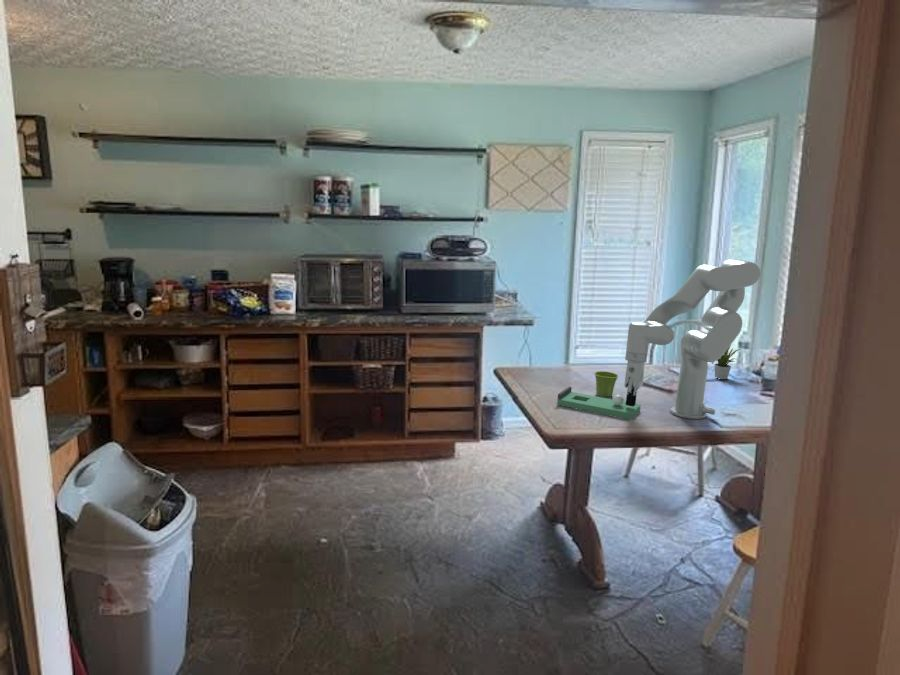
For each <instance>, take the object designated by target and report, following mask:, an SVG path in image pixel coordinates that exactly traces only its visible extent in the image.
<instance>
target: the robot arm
mask: <svg viewBox="0 0 900 675" xmlns="http://www.w3.org/2000/svg"><path fill="white" fill-rule="evenodd" d="M760 278H761V269H760V266H759V265H757V263H756V262H752V261H747V260H742V259H737V258H735V259H734V258H729V259H727V260H725V261H723V262H722V264H721V265H720V266H718V265H717V266H716V265H713V264H712V265H711V264H701V265H699V266H698V267H696V268H695V269H694V271H693V272H692V273H691V274H690V275H689V277H688V278H687V279H686V281H685V282H684V283H683V284H682V285H681V287H679V289H678V290H677V292H675V294H674V295H672V296H671V297H669V298H668V299H666V300H665V301H664V302H662V303H660V304H659V305H658V306H657V307H656V308H654V309H653V310H652V312H651V313H650V314H649V315H648V316H647V318H646V319H645V320H644V322H642V321H641V322H640V321H634V322H630V323H629V325H628V331H627V340H626V349H625V357H624V359H625V361H627V364H626V369H625V377H624V387H625V388H626V392H627V393H626V399H625V402H626V405H628V406H635V404H637V403H636V402H637V392H638V390H639V389H640V388H641V387H642V386H643V385H644V379H645V378H644V377H645V375H644V374H645V363H647V360H648V352H649V345H650V344H651V345H652V344H653V345H657V346H666V345H668V344H671V343H672V342H673V340H674V339H675V332H674V330H673V328H672V327H670V326H669V324H668V323H669V322H670V321H671V320H672V319H674V318H676V317H677V316H679V315H682V314H685V313H689V312H692V311H694V310H695V309H696V308H697V307H698V305H699V304H700V303H701V302H702V300H703V299H704V298H705V296H706V295H707V294H708V293H709V292H710V291H714V292H719V293H718V294H717V296H716V298H715V299H714V300H713V301H712V303H711V304H710V306H709V307H708V308H707V309H706V311H704V314H703V315H702V316H701V319H700V320H701V326H702V328H704V329H705V330H706V331H708V332H705V331H703V330H699V329H691V330H688V331H687V332H685V333H684V334H683V335H682V337H681V340H680V346H679V348H680V366H679V373H678V374H679V375H678V383H677V390H676V398H675V405H674V406H672V407H670V410H669V412H670V413H671V414H672V415H674V416H676V417H680V418H684V419H691V420H700V419H705V418H706V416H707V414H709V415H716V409H714V408H713V407H707V406H706V405H705V404H706V403H705V402H704V398H705V392H706V385H707V378H708V377H707V376H708V367H709V366H708V365H709V364H708V363H714V362H717V361H718V359H719V358H720V357H721V356H722V355H723V354H724V353H725V352H726V350H727V349H728V348H729V347H730V348H731V346H732V344H733V343H734V341H735V340H736V338H737V337H738V336H739V334H740V332H741V331H742V328H743V319H742V316H741V315H740V314H739V313H738V310H739V309H740V307H741V306H742V305H743V303H744V300H745V296H746V293H745V292H746V291H745V290H746V289H745V288H747V287H751V286H753V285H754V284H756V283H757V282H758V281H759V280H760ZM730 345H731V346H730ZM716 360H717V361H716Z"/></svg>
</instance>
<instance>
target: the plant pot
mask: <svg viewBox="0 0 900 675" xmlns="http://www.w3.org/2000/svg"><path fill="white" fill-rule="evenodd" d="M594 375H595V381H596V382H595V385H596V388H595V389H596V395H598V397H602V398H608V397H610V398H611V397H612V396H613V392H614V389H615V386H616V382H617V380H618V378H619V374H617V373H614V372H610V371H603V370H602V371H595V372H594Z"/></svg>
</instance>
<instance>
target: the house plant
mask: <svg viewBox="0 0 900 675" xmlns="http://www.w3.org/2000/svg"><path fill="white" fill-rule="evenodd" d="M731 346H732V344H731V345H730V347H729V348H728V349H727V350H726V352H725V353H724V354H723V355H722V356H721V357H720V358H719V359H718V360H716V361H715V362H717V363H714V364H713V365H714V366H713V367H714V378H715V377H717V378H720V379H727V380H728V378H729V374H730V371H731V368H732V366H731V365H730V363H733V362H734V363H735V362H736V361H735V360H737V361H738V359H736V358H731V357H732V356H733V355H735V353H737V352H738V351H739V350H741V348H739V349H735V350H734V347H732V348H731ZM730 348H731V349H730ZM729 350H730V351H729ZM730 358H731V359H730Z"/></svg>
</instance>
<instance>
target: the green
mask: <svg viewBox="0 0 900 675" xmlns="http://www.w3.org/2000/svg"><path fill="white" fill-rule="evenodd" d="M556 405H557V406H558V405H561V406H560V407H563V406H567V407H566V408H568V407H571V408H570V409H573V408H577V409H576V410H578V409H581V410H580V411H584V410H586V411H585V412H589V411H590V412H589V413H594V412H596V413H595V414H599V413H600V414H599V415H604V414H606V415H605V416H609V415H611V416H610V417H614V416H616V417H615V418H619V417H621V418H620V419H624V418H626V419H625V420H629V419H631V420H630V421H633V419H635V417H636V416H637V413H638V414H639V413H640V411H641V404H638V403H636V404H635V406H628V405H626V401H624V402H623V404H622V405H620V406H617V405H615V404H614V403H613V398H612V399H611V398H608V397H603V396H595V395H591V394H590V395H589V394H585V393H579V392H573V391H572V386H568V387H566V388H565V389H563V390H562V391H560V392H559V393H558V394H557V401H556Z"/></svg>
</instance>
